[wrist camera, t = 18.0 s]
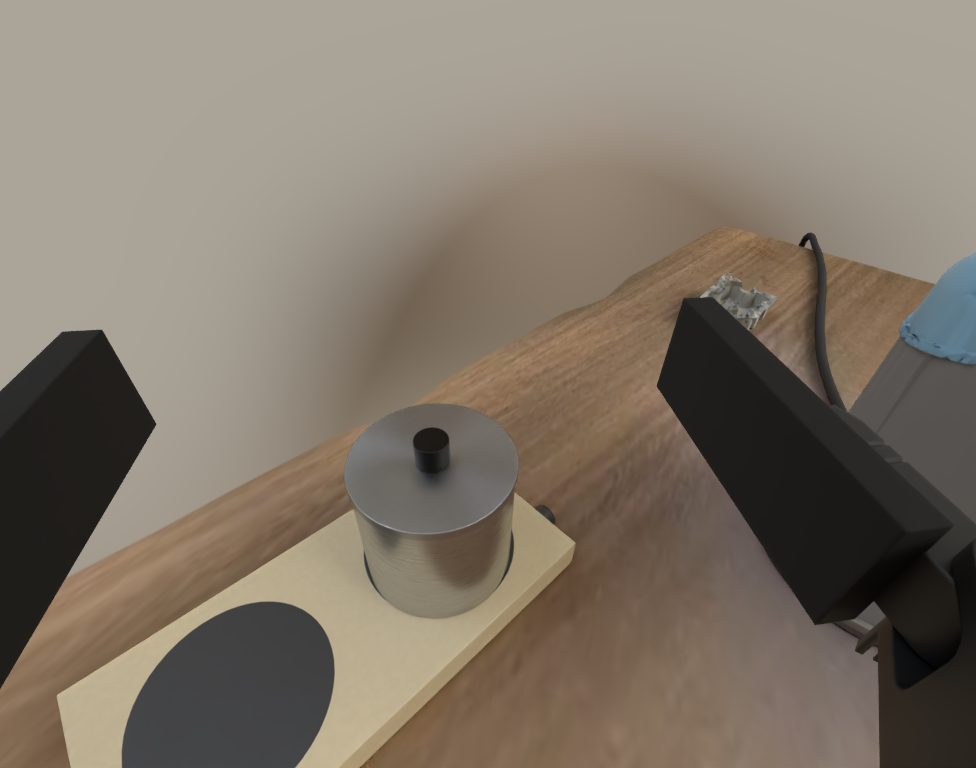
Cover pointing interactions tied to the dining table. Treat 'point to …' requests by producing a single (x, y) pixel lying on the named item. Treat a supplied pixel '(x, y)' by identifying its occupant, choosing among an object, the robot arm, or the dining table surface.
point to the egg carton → (740, 300)
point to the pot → (434, 506)
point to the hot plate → (294, 662)
